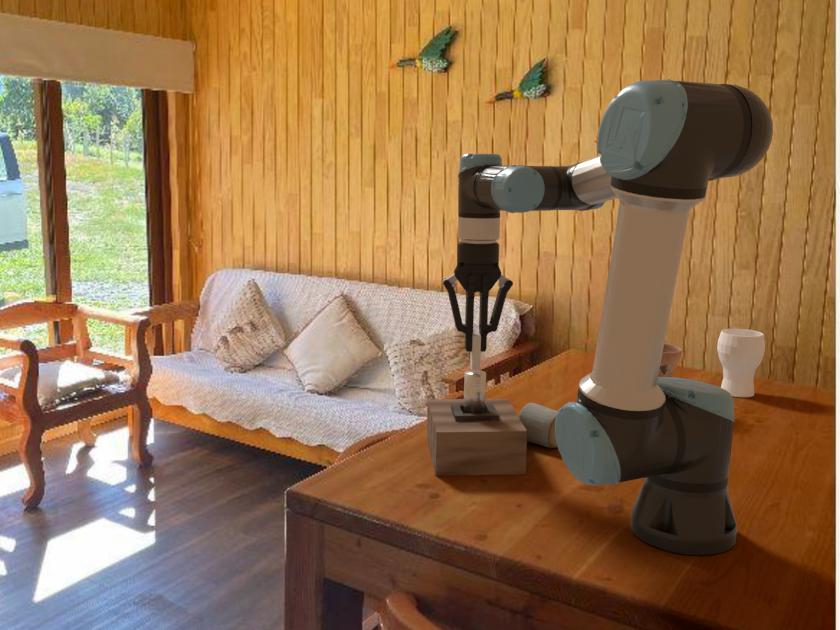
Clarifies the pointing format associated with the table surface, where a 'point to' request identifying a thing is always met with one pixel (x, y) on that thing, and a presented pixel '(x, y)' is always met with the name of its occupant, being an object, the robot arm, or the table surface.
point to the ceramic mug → (539, 424)
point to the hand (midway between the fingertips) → (475, 368)
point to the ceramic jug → (669, 360)
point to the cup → (740, 359)
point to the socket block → (475, 438)
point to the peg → (474, 391)
